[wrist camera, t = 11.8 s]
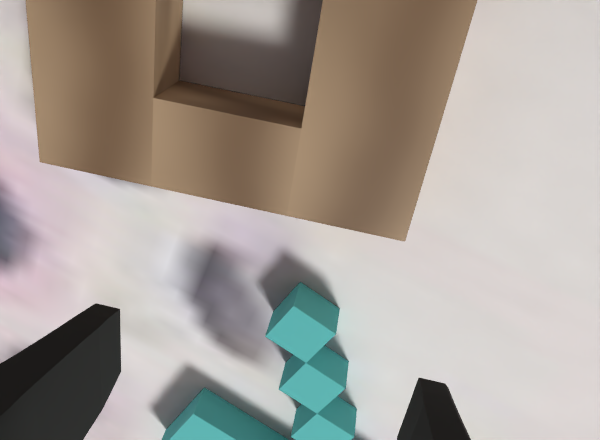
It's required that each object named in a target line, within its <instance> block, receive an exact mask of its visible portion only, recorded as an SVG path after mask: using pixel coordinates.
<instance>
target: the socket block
mask: <svg viewBox="0 0 600 440" xmlns="http://www.w3.org/2000/svg"><path fill="white" fill-rule="evenodd" d="M476 3H477V0H323V2H322V8H321V14H320V20H319V26H318V32H317V38H316V44H315V50H314V56H313V62H312V68H311V74H310V80H309V86H308V92H307V98H306V104H305V106H301V105H296V104H292V103H287V102H282V101H277V100H272V99H267V98H262V97H257V96H252V95H247V94H243V93H238V92H233V91H228V90H223V89H218V88H213V87H208V86H203V85H199V84H194V83H189V82H184V81H179V71H180V50H181V29H182V8H183V0H26V10H27V21H28V33H29V44H30V56H31V67H32V78H33V90H34V101H35V113H36V124H37V136H38V147H39V158H40V162H42V163H47V164H51V165H56V166H60V167H65V168H70V169H74V170H79V171H83V172H88V173H93V174H97V175H102V176H106V177H111V178H116V179H120V180H125V181H129V182H134V183H139V184H143V185H148V186H152V187H157V188H161V189H166V190H171V191H175V192H180V193H184V194H189V195H194V196H198V197H203V198H207V199H212V200H217V201H221V202H226V203H230V204H235V205H240V206H244V207H249V208H253V209H258V210H263V211H267V212H272V213H276V214H281V215H285V216H290V217H295V218H299V219H304V220H308V221H313V222H318V223H322V224H327V225H331V226H336V227H341V228H345V229H350V230H354V231H359V232H364V233H368V234H373V235H377V236H382V237H386V238H391V239H396V240H400V241H405V240H406V236H407V233H408V230H409V226H410V223H411V220H412V216H413V213H414V210H415V206H416V203H417V200H418V196H419V193H420V190H421V186H422V183H423V180H424V176H425V173H426V170H427V166H428V163H429V160H430V156H431V153H432V150H433V146H434V143H435V140H436V136H437V133H438V130H439V126H440V123H441V120H442V116H443V113H444V110H445V106H446V103H447V100H448V96H449V93H450V90H451V86H452V83H453V80H454V76H455V73H456V70H457V66H458V63H459V60H460V56H461V53H462V50H463V46H464V43H465V40H466V36H467V33H468V30H469V26H470V23H471V20H472V16H473V13H474V10H475V6H476Z"/></svg>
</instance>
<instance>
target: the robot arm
mask: <svg viewBox="0 0 600 440" xmlns="http://www.w3.org/2000/svg"><path fill="white" fill-rule="evenodd" d="M120 372H121V344H120V309H118V308H113V307H109V306H105V305H100V304H94V305H93V306H91V307H89V308H88V309H86V310H85V311H83V312H81V313H80V314H78V315H77V316H75V317H74V318H72V319H71V320H69V321H68V322H66V323H65V324H63V325H62V326H60V327H59V328H57V329H55V330H54V331H52V332H51V333H49V334H48V335H46V336H45V337H43V338H42V339H40V340H38V341H37V342H35V343H34V344H32V345H30V346H29V347H27V348H26V349H24V350H22V351H21V352H19V353H18V354H16V355H14V356H13V357H11V358H9V359H8V360H6V361H4V362H2V363H1V364H0V440H83V439H84V437H85V436H86V434H87V433H88V431H89V429H90V428H91V426H92V425H93V423H94V422H95V420H96V419H97V417H98V415H99V414H100V412H101V411H102V409H103V407H104V405H105V403H106V401H107V399H108V397H109V395H110V393H111V391H112V389H113V387H114V385H115V383H116V381H117V379H118V376H119V374H120ZM397 440H471V439H470V437H469V435H468V433H467V430H466V428H465V426H464V424H463V422H462V419H461V417H460V415H459V413H458V410H457V408H456V406H455V403H454V401H453V399H452V396H451V394H450V391H449V389H448V387H447V386H446V384H444V383H440V382H436V381H431V380H427V379H423V378H418V381H417V384H416V387H415V389H414V392H413V395H412V398H411V401H410V403H409V406H408V409H407V412H406V414H405V417H404V420H403V423H402V426H401V428H400V431H399V434H398V437H397Z"/></svg>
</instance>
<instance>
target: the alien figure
mask: <svg viewBox="0 0 600 440" xmlns="http://www.w3.org/2000/svg"><path fill="white" fill-rule="evenodd" d="M339 309H340V308H338V307H337V306H335V305H334V304H332V303H331V302H329V301H328V300H326V299H325V298H323V297H322V296H320V295H319V294H317V293H316V292H314V291H313V290H312V289H310V288H309V287H307V286H306V285H304V284H303V283H301V282H300V283H299V284H298V285H297V286H296V287H295V288H294V289H293V290H292V291H291V293H290V294H289V295H288V296H287V297H286V298H285V299H284V300H283V301H282V303H281V304H280V305H279V306H278V307H277V308H276V309H275V310H274V311H273V314H272V317H271V320H270V323H269V327H268V330H267V333H266V336H265V337H267V338H268V339H270V340H272V341H273V342H275V343H276V344H278V345H279V346H281V347H282V348H284V349H285V350H287V351H288V352H290V353H292V354H293V356H292V357H291V358H290V359H289V360H288V361H287V362H286V363H285V367H284V371H283V375H282V379H281V383H280V386H279V390H280V391H282V392H284V393H285V394H287V395H288V396H290V397H291V398H293V399H295V400H296V401H298V402H299V403H301V405H300V406H299V407H298V408H297V409H296V414H295V419H294V424H293V428H292V433H291V437H292V438H293V439H295V440H352V439H353V438H354V435H355V423H356V411H357V409H356V408H355V407H353V406H352V405H350V404H349V403H347V402H346V401H344V400H342V399H341V398H339V397H338V395H339V394H340V393H341V392H342V391H343V390H345V389H346V381H347V371H348V362H349V361H347V360H346V359H344V358H343V357H341V356H340V355H338V354H337V353H335V352H334V351H332V350H331V349H329V348H328V347H326V346H325V344H326V343H327V342H328V341H329V340H330V339H331V338H332V337H333V336H334V335H335V334H336V330H337V323H338V316H339ZM162 440H289V439H287V438H285V437H284V436H282V435H280V434H279V433H277V432H276V431H274V430H272V429H271V428H269V427H268V426H266V425H264V424H263V423H261V422H259V421H258V420H256V419H255V418H253V417H251V416H250V415H248V414H247V413H245V412H243V411H242V410H240V409H238V408H237V407H235V406H234V405H232V404H230V403H229V402H227V401H226V400H224V399H222V398H221V397H219V396H217V395H216V394H214V393H213V392H211V391H209V390H208V389H206V388H205V387H204V388H203V390H202V391H201V392H200V393H199V394H198V395H197V396H196V397H195V398H194V399H193V401H192V402H191V403H190V404H189V405H188V406H187V407H186V408H185V409H184V410H183V412H182V413H181V414H180V415H179V416H178V417H177V418H176V419H175V420H174V422H173V423H172V424H171V425H170V426H169V427H168V428H167V429H166V431H165V433H164V436H163V438H162Z"/></svg>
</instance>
